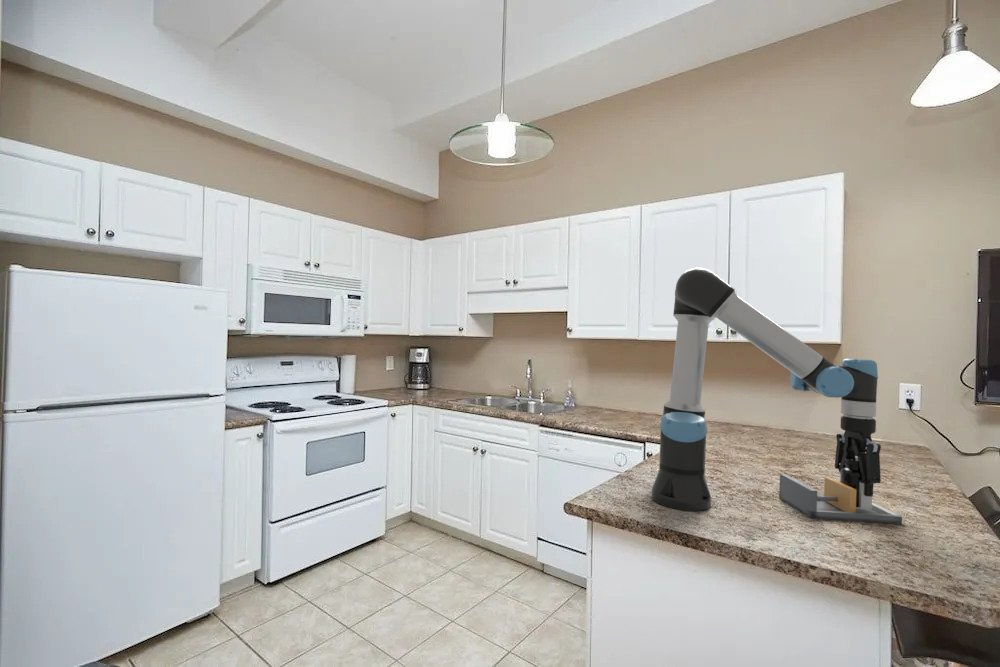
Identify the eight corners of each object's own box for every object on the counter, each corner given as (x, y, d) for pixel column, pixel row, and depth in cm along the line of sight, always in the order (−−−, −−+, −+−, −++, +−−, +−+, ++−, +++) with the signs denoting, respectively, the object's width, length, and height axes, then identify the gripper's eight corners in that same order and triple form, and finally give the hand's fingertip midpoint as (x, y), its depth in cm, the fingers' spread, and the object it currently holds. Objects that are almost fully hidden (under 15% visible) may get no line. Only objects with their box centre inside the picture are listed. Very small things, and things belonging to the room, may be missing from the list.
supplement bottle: (862, 501, 128) (864, 457, 128) (877, 510, 121) (879, 463, 121) (834, 498, 129) (836, 454, 129) (847, 507, 122) (849, 461, 122)
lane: (810, 518, 119) (811, 490, 119) (779, 498, 134) (780, 473, 134) (901, 523, 117) (902, 495, 117) (860, 503, 132) (860, 478, 132)
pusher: (825, 512, 120) (825, 487, 121) (801, 498, 131) (802, 475, 131) (855, 514, 120) (856, 489, 120) (829, 500, 131) (830, 477, 131)
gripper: (901, 423, 115) (898, 517, 115) (848, 411, 135) (845, 491, 135) (869, 422, 116) (866, 515, 116) (820, 410, 135) (818, 489, 135)
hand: (855, 502), depth 125 cm, fingers closed on supplement bottle, 7 cm apart
